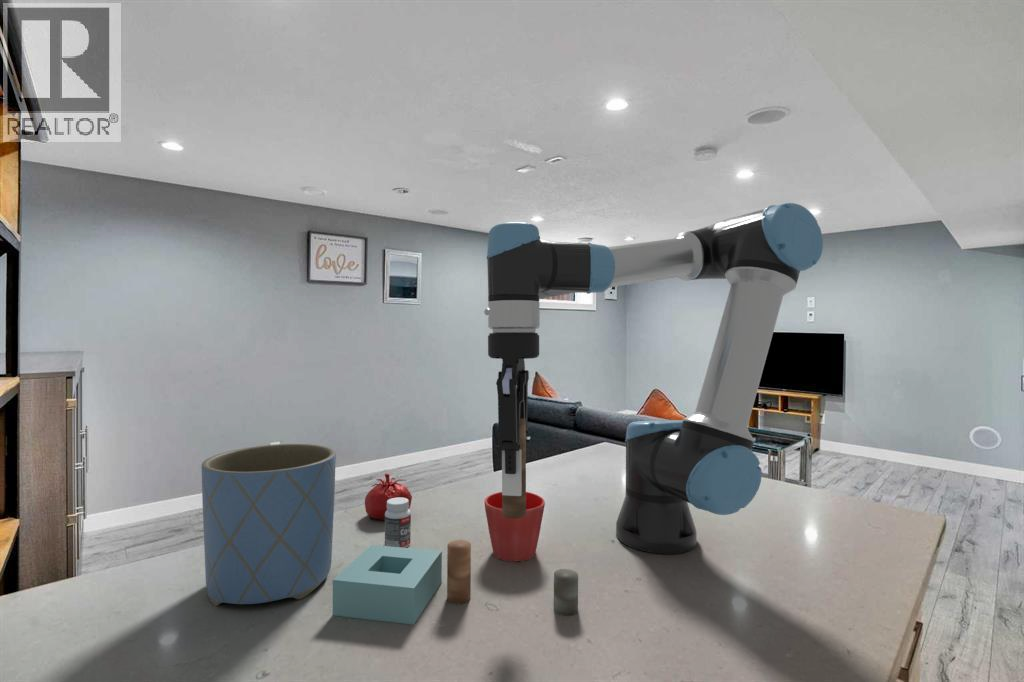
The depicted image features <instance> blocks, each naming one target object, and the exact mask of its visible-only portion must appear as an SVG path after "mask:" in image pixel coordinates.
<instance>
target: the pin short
mask: <svg viewBox="0 0 1024 682" xmlns="http://www.w3.org/2000/svg"><path fill="white" fill-rule="evenodd" d="M553 610H554V612H555V613H556V614H558V615H561V616H564V617H565V616H566V617H569V616H573V615H575V614H577V613H578V610H579V573H578V572H577V571H576V570H572V569H570V568H561V569H557V570H555V571H554V573H553Z"/></svg>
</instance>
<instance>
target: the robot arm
mask: <svg viewBox="0 0 1024 682" xmlns="http://www.w3.org/2000/svg"><path fill="white" fill-rule="evenodd" d="M819 225H820V224H819V223H818V220H817V218H816V217H815V216H814V215H813V213H812V212H811V211H810V210H809V209H807V208H806V207H805V206H804V205H801V204H798V203H795V202H793V203H792V202H786V203H781V204H778V205H777V204H774V205H773V204H772V205H769V206H767V207H766V208H764V209H760V210H757V211H753V212H750V213H746V214H741V215H739V216H738V215H737V216H735V217H730V218H727V219H724V220H722V221H719V222H716V223H713V224H711V225H708V226H705V227H702V228H698V229H694V230H689V231H681V232H679V233H678V234H677V235H676V236H675V237H674V238H667V239H660V240H652V241H645V242H637V243H627V244H620V245H614V246H613V245H611V246H606V245H603V244H598V243H597V244H595V243H591V242H587V243H586V242H585V243H583V242H567V241H565V242H564V241H550V240H549V241H548V240H545V239H541V236H540V230H539V228H538V226H537V225H535V224H532V223H528V222H524V221H523V222H520V221H518V222H517V221H514V222H513V221H510V222H502V223H498V224H495V225H494V226H492V227H491V229H489V232H488V238H487V252H486V260H487V263H486V264H487V295H488V296H487V301H488V302H487V304H488V305H487V306H488V307H487V308H485V309H484V314H485V316H488V317H487V318H488V319H487V325H488V326H487V327H488V328H489V330H492V332H491V333H489V334H488V335H487V345H488V346H487V354H488V357H489V358H490V359H501V361H502V363H501V371H498V374H497V379H496V383H495V384H496V391H497V414H498V415H497V416H498V417H497V418H498V419H497V420H498V445H496V446H495V450H496V451H501V492H502V495H507V496H521V495H522V463H521V449H520V418H524V419H526V443H531V436H527V435H528V434H529V429H528V408H529V407H528V404H529V403H528V402H529V401H528V399H529V398H528V394H529V393H528V391H529V390H528V388H529V387H528V385H529V384H528V383H529V379H530V373H529V370H528V369H527V370H526V365H525V360H526V359H527V360H528V359H536V358H538V357H539V356H540V335H539V333H538V332H537V331H536V329H539V328H540V327H541V326H540V324H541V323H540V313H541V312H540V309H541V308H540V300H541V299H542V300H543V299H546V298H552V297H557V296H565V295H569V294H570V295H571V294H574V293H575V294H577V293H582V294H583V293H584V294H585V293H586V294H587V295H588V294H589V295H590V294H591V293H592V294H594V293H595V294H596V293H603V292H605V291H607V290H608V289H609V288H615V287H621V286H627V285H634V284H642V283H647V282H649V283H650V282H655V281H659V280H668V279H672V278H679V279H680V280H681V281H684V282H685V281H687V282H688V281H694V280H695V281H696V280H710V279H713V280H715V279H716V280H718V279H723V280H724V279H725V280H726V281H727V282H728V283H729V285H730V288H729V291H728V295H727V298H726V302H725V305H724V310H723V313H722V316H721V319H720V323H719V326H718V330H717V334H716V338H715V341H714V345H713V348H712V351H711V355H710V359H709V362H708V365H707V369H706V373H705V375H704V376H705V377H704V379H703V383H702V387H701V390H700V392H699V393H700V394H699V398H698V401H697V404H696V408H695V411H694V412H693V414H690V415H688V416H686V417H684V418H683V420H680V419H679V420H678V419H666V420H665V419H658V420H657V419H655V420H639V421H632V422H630V423H629V424H627V427H626V433H625V440H624V443H625V496H624V499H623V502H622V505H621V508H620V511H619V514H618V516H617V520H616V522H615V524H616V525H615V526H616V527H615V534H616V538H617V539H618V541H620V542H621V543H623V544H625V545H626V546H628V547H631V548H633V549H636V550H639V551H643V552H646V553H647V552H648V553H654V554H661V555H663V554H665V555H670V554H671V555H672V554H673V555H674V554H681V553H682V554H683V553H686V552H689V551H691V550H693V549H694V548H696V546H697V535H698V533H697V528H696V525H695V522H694V518H693V515H692V513H691V510H690V506H689V504H691V505H692V506H693V507H695V508H696V509H699V510H702V511H706V512H708V513H711V514H714V515H718V516H727V515H728V516H729V515H733V514H736V513H737V512H739V511H740V510H741V509H744V508H746V507H747V506H748V505H749V504H750V503H751V502H752V501H753V500H754V498H755V497H756V495H757V493H758V491H759V489H760V486H761V482H762V478H763V477H762V474H763V472H762V468H761V467H760V466H759V465H760V464H761V463H760V460H759V458H758V456H757V455H756V454H755V453H754V452H753V451H752V450H753V447H754V442H755V439H754V437H753V436H752V434H751V433H750V430H749V428H748V426H749V423H750V419H751V415H752V412H753V408H754V404H755V401H756V396H757V394H758V390H759V387H760V383H761V379H762V375H763V371H764V367H765V364H766V360H767V357H768V354H769V349H770V347H771V342H772V338H773V336H774V335H773V334H774V331H775V328H776V323H777V320H778V316H779V312H780V309H781V307H782V305H781V304H782V302H783V298H784V296H785V295H787V294H788V293H791V292H793V291H794V290H795V289H796V287H797V284H798V281H799V276H800V273H801V271H803V272H804V271H807V270H808V269H811V268H812V267H814V266H815V265H817V263H818V262H819V260H820V259H821V256H822V254H823V250H824V249H823V247H824V245H823V244H824V240H823V239H824V238H823V233H822V230H821V227H820V226H819ZM688 503H689V504H688Z"/></svg>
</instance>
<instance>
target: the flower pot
mask: <svg viewBox="0 0 1024 682" xmlns="http://www.w3.org/2000/svg"><path fill="white" fill-rule="evenodd" d="M483 502H484V510H485V514H486V522H487V528H488V532H489V533H488V534H489V539H490V543H491V548H492V553H493V555H494V557H496V558H498V559H499V560H502V561H505V562H515V563H516V562H518V561H519V562H524V561H525V562H526V561H527V560H530V559H532V558H533V557H535V555H536V552H537V547H538V542H539V539H540V534H541V533H540V532H541V528H542V522H543V517H544V511H545V505H546V502H545V499H544V498H543V497H542V496H540V495H538V494H537V493H532V492H529V491H526V516H524V517H522V518H517V519H511V518H506V517H504V516H503V515H502V491H500V492H499V491H498V492H494V493H492V494H490V495H488V496H486V497H485V498H484V501H483Z"/></svg>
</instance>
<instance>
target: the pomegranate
mask: <svg viewBox="0 0 1024 682" xmlns="http://www.w3.org/2000/svg"><path fill="white" fill-rule="evenodd" d="M384 478H385V480H384V479H382V478H376V481H377V482H378V481H381V482H379V483H374V484H373V485H372V487H373V488H371V489H370V490H369V491H368V493H366V496H365V498H364V509H365V512H366V513H365V514H367V516H368V517H369V518H372V519H375V520H377V521H378V520H380V521H385V512H386V511H387V501H388V500H389V499H392V498H397V497H402V498H407V499H408V500H409V508H408V509H409V510H410V508H411V504H412V500H413V495H412V493H411V491H409V489H408V488H407V486H405V485H403V484H401V483H399V481H400V479H397V480H396V478H395V477H392V478H390V473H389V472H386V473H384ZM394 480H395V481H394ZM402 481H403V482H404V481H407V480H405V479H402Z"/></svg>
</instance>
